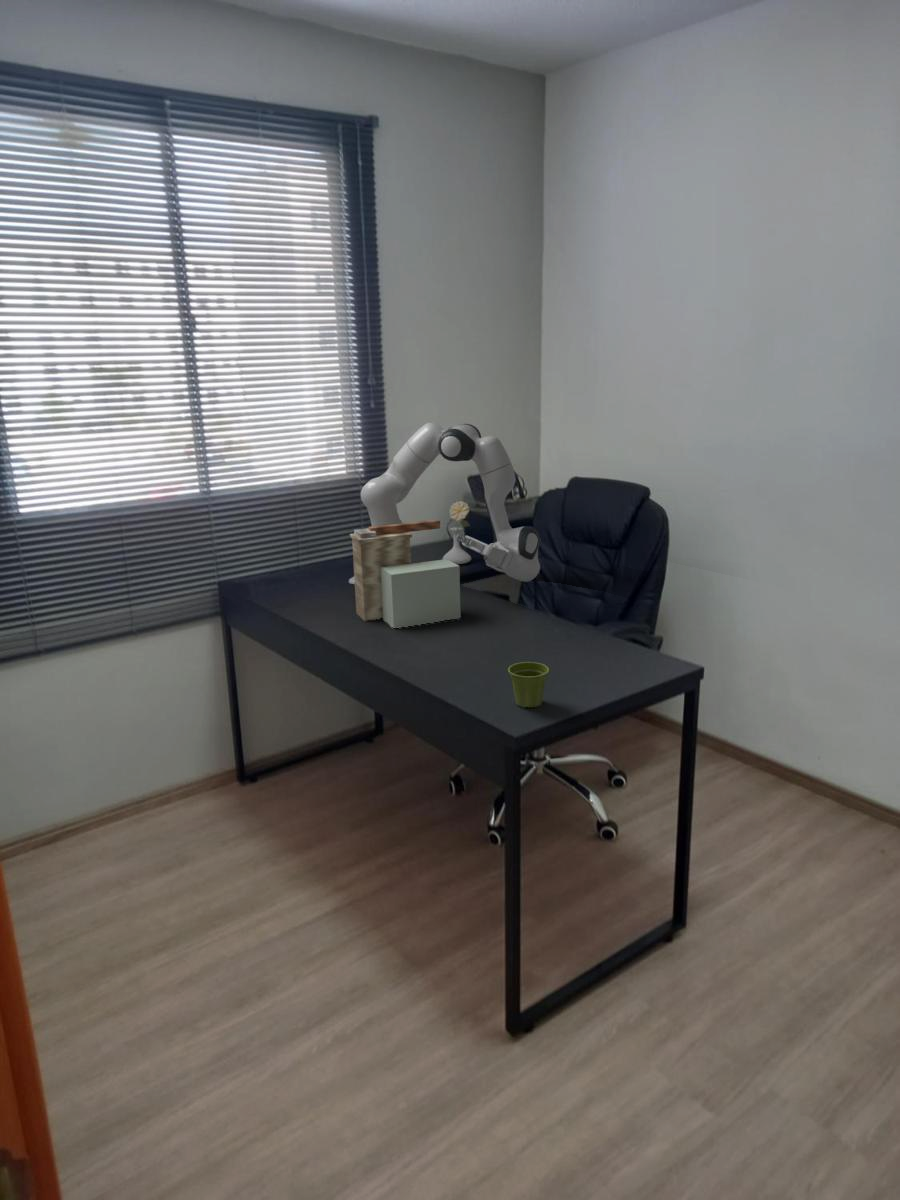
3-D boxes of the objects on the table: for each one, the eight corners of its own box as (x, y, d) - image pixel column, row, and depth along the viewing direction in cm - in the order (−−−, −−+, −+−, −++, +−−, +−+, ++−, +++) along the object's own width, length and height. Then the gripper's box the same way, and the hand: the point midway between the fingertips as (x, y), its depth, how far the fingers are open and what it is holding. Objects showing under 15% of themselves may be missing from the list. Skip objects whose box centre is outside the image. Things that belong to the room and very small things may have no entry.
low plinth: (448, 610, 268) (446, 559, 264) (460, 618, 259) (459, 565, 255) (383, 620, 260) (380, 567, 255) (393, 629, 251) (391, 574, 247)
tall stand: (404, 606, 274) (401, 528, 267) (415, 614, 265) (411, 534, 258) (354, 613, 268) (349, 533, 260) (363, 621, 259) (359, 540, 252)
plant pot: (532, 715, 190) (533, 679, 187) (500, 704, 196) (500, 670, 193) (556, 702, 197) (556, 667, 194) (524, 692, 203) (524, 658, 200)
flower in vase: (436, 563, 329) (434, 500, 322) (457, 558, 336) (456, 496, 329) (459, 568, 319) (457, 504, 312) (480, 563, 327) (479, 500, 320)
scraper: (434, 525, 269) (434, 518, 269) (442, 529, 263) (442, 522, 262) (354, 534, 259) (353, 526, 259) (360, 538, 253) (360, 531, 253)
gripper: (487, 541, 286) (455, 525, 280) (515, 553, 268) (480, 536, 262) (479, 557, 286) (447, 542, 280) (506, 570, 268) (472, 554, 262)
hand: (463, 539), depth 271 cm, fingers open, 8 cm apart
